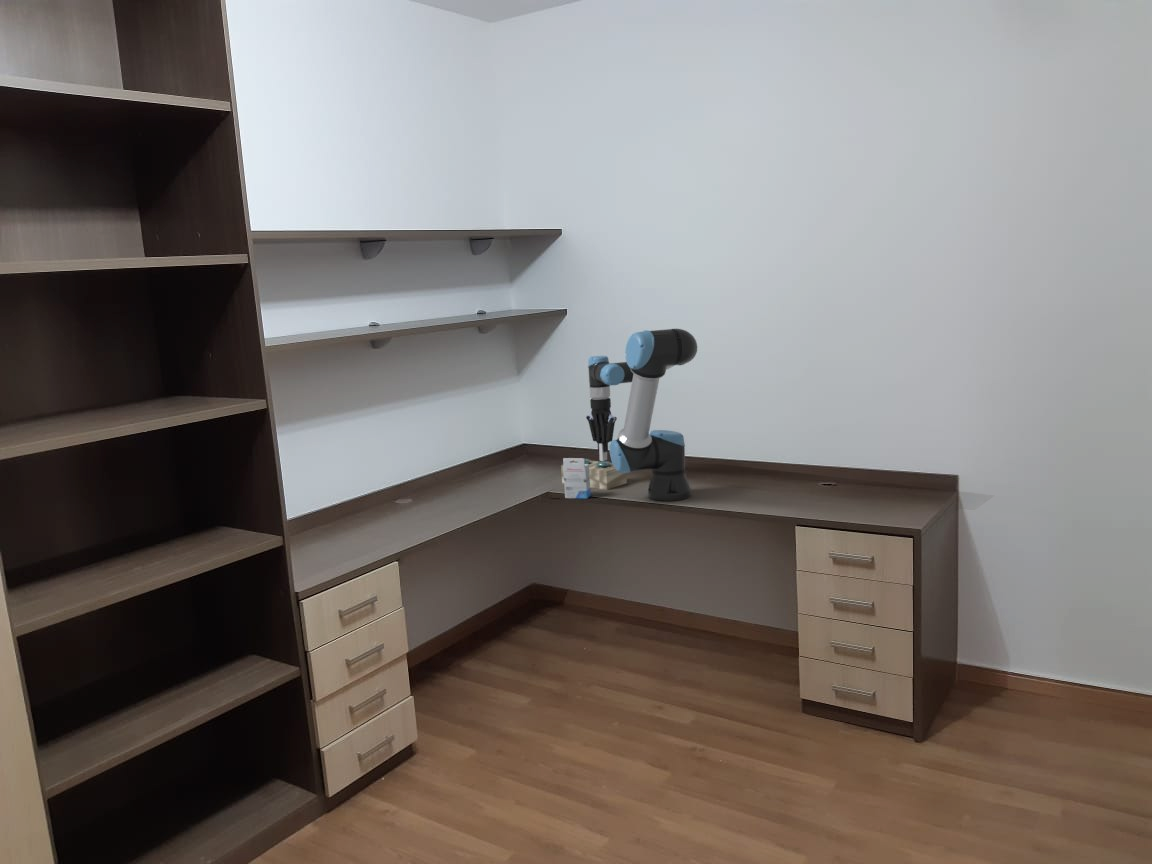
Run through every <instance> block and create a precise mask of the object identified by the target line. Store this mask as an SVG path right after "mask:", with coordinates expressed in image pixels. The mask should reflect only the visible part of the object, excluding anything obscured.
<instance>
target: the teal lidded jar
mask: <svg viewBox="0 0 1152 864" xmlns="http://www.w3.org/2000/svg"><path fill="white" fill-rule="evenodd" d="M584 460H585V464H588V463H589V462H590V461H591V459H589V458H584ZM576 463H578V462H577V461H576Z"/></svg>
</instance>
